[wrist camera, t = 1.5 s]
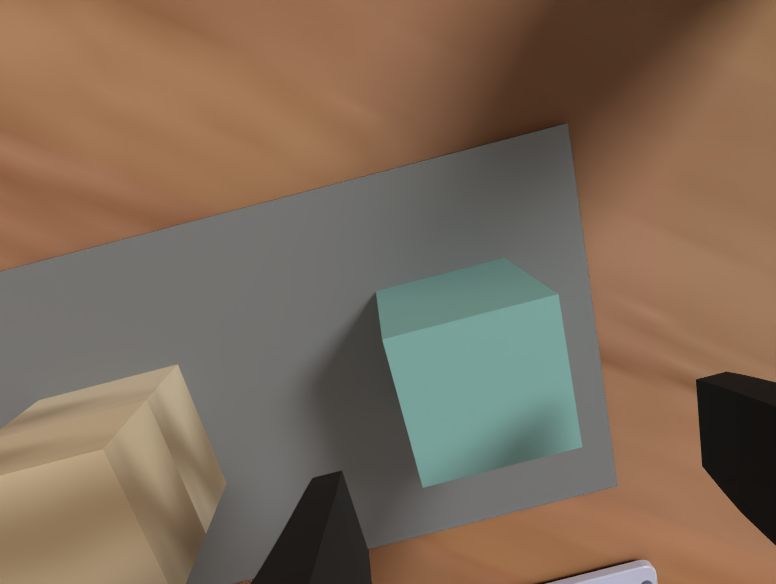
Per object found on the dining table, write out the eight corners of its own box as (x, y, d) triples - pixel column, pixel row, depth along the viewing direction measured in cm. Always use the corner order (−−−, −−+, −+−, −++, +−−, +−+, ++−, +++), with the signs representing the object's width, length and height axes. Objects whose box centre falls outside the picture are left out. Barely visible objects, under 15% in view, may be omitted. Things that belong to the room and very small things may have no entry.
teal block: (526, 375, 17) (582, 447, 13) (406, 406, 17) (422, 487, 13) (504, 257, 16) (558, 294, 12) (375, 291, 16) (382, 339, 12)
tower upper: (206, 533, 15) (177, 603, 13) (57, 571, 15) (1, 647, 13) (146, 399, 14) (102, 449, 12) (-17, 441, 14) (-94, 499, 12)
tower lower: (226, 483, 18) (206, 533, 15) (97, 516, 18) (57, 571, 15) (177, 364, 16) (146, 399, 14) (38, 400, 16) (-17, 441, 14)
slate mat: (613, 481, 19) (617, 486, 19) (64, 620, 19) (59, 627, 19) (564, 123, 15) (568, 123, 15) (-120, 303, 16) (-129, 305, 15)
